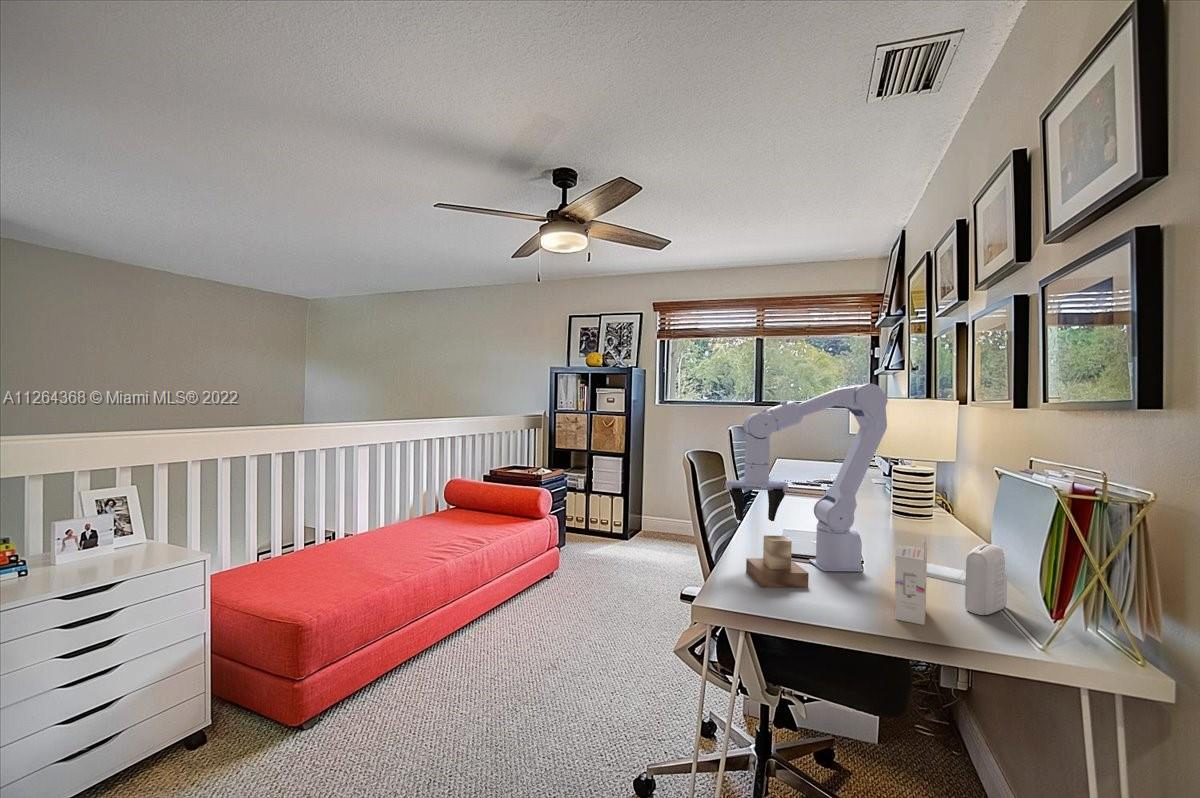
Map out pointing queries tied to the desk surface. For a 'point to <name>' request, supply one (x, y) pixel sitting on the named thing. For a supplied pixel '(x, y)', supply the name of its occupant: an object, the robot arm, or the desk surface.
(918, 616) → the ink cartridge box
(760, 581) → the walnut base
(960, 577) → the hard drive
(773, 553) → the maple block
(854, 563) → the robot arm
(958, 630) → the desk surface
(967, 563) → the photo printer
